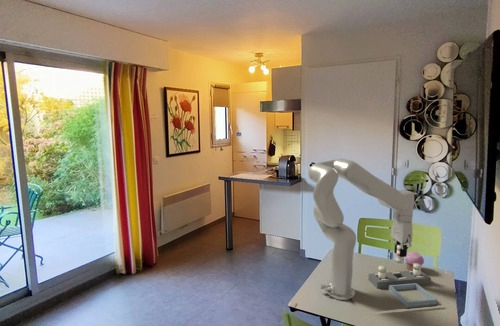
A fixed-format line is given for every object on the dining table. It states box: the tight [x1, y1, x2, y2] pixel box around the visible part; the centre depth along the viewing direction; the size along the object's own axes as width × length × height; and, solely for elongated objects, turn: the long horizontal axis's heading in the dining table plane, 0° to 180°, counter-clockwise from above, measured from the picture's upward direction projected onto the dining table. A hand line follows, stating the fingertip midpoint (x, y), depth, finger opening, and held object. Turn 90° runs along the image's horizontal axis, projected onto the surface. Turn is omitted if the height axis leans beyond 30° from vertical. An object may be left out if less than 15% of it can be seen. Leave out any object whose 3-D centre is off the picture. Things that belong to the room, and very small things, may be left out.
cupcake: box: [404, 251, 425, 271], centre depth 165 cm, size 9×9×10 cm
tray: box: [388, 283, 438, 310], centre depth 141 cm, size 14×14×3 cm
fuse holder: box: [367, 270, 432, 289], centre depth 153 cm, size 27×8×4 cm, turn 98°
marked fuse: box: [395, 244, 405, 265], centre depth 151 cm, size 3×3×8 cm
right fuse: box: [413, 263, 422, 277], centre depth 154 cm, size 3×3×8 cm
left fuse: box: [377, 265, 387, 280], centre depth 152 cm, size 3×3×8 cm
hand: (400, 254), depth 151 cm, fingers closed on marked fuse, 3 cm apart
